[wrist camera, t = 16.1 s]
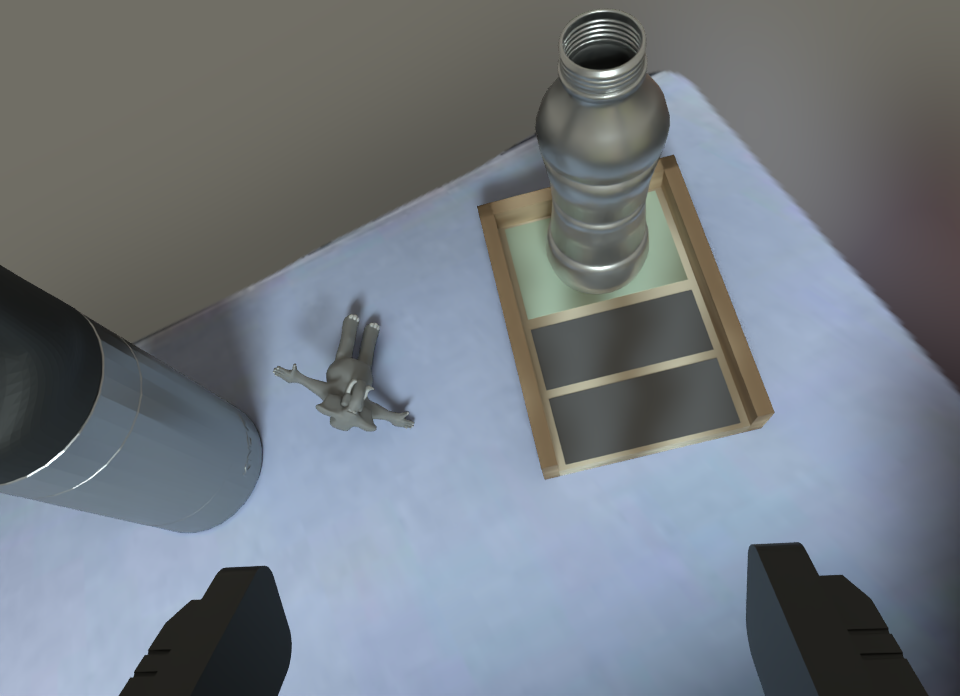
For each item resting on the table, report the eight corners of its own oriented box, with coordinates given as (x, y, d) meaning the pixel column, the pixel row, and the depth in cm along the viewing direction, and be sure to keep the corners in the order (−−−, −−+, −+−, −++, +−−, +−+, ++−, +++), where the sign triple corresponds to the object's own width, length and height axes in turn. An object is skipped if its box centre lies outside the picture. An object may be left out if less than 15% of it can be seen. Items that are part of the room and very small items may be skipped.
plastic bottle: (554, 218, 50) (534, -18, 32) (651, 226, 49) (689, -16, 30) (541, 299, 48) (510, 96, 29) (642, 310, 47) (676, 104, 28)
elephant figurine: (443, 331, 50) (432, 436, 44) (402, 374, 54) (386, 476, 48) (314, 269, 46) (283, 375, 40) (279, 320, 50) (246, 424, 44)
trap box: (544, 479, 45) (541, 468, 42) (483, 231, 52) (476, 206, 49) (761, 428, 44) (774, 412, 41) (668, 183, 52) (673, 154, 48)
